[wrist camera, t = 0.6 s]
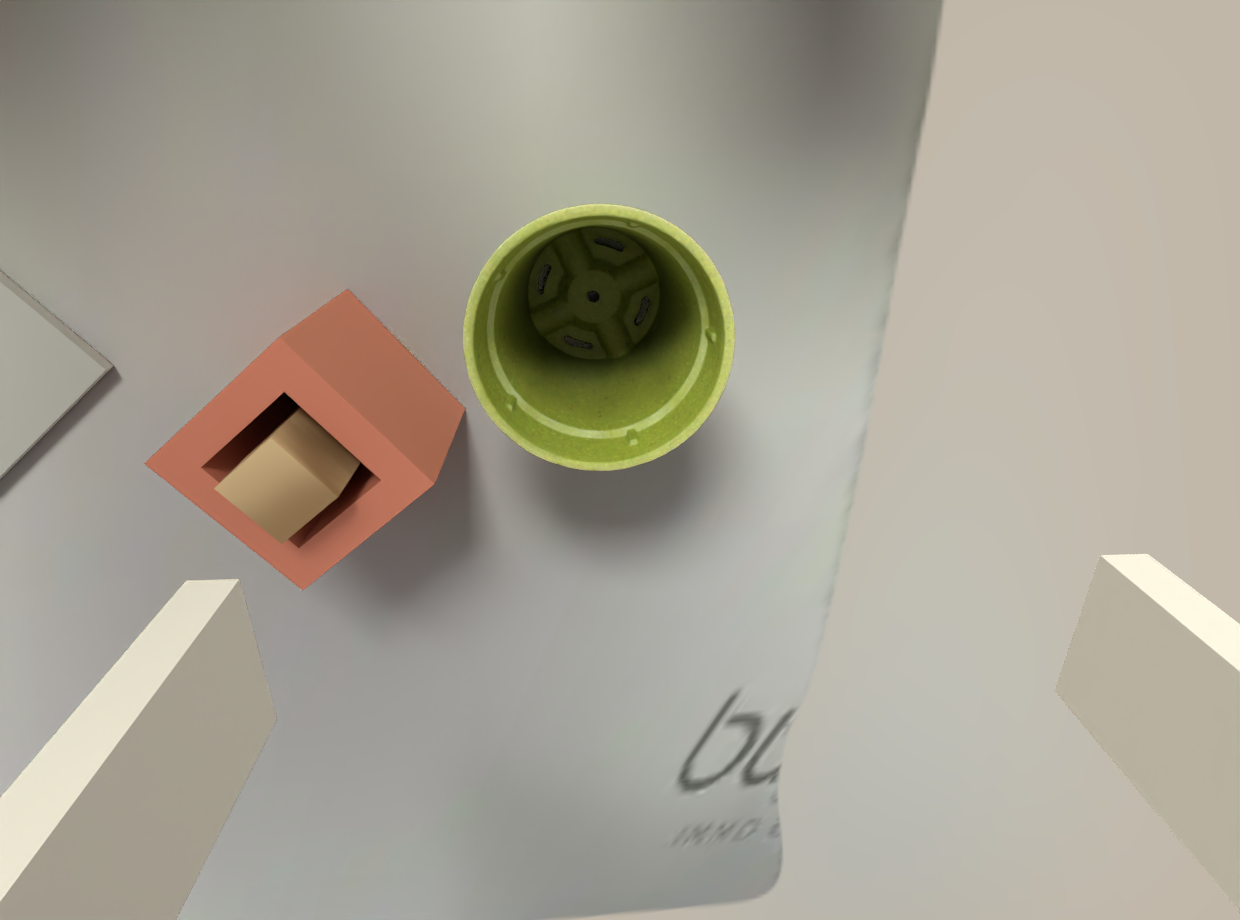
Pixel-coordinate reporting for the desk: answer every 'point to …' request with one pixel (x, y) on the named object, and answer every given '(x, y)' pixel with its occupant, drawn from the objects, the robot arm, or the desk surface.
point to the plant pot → (599, 338)
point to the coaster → (37, 371)
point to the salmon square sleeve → (343, 405)
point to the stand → (289, 475)
